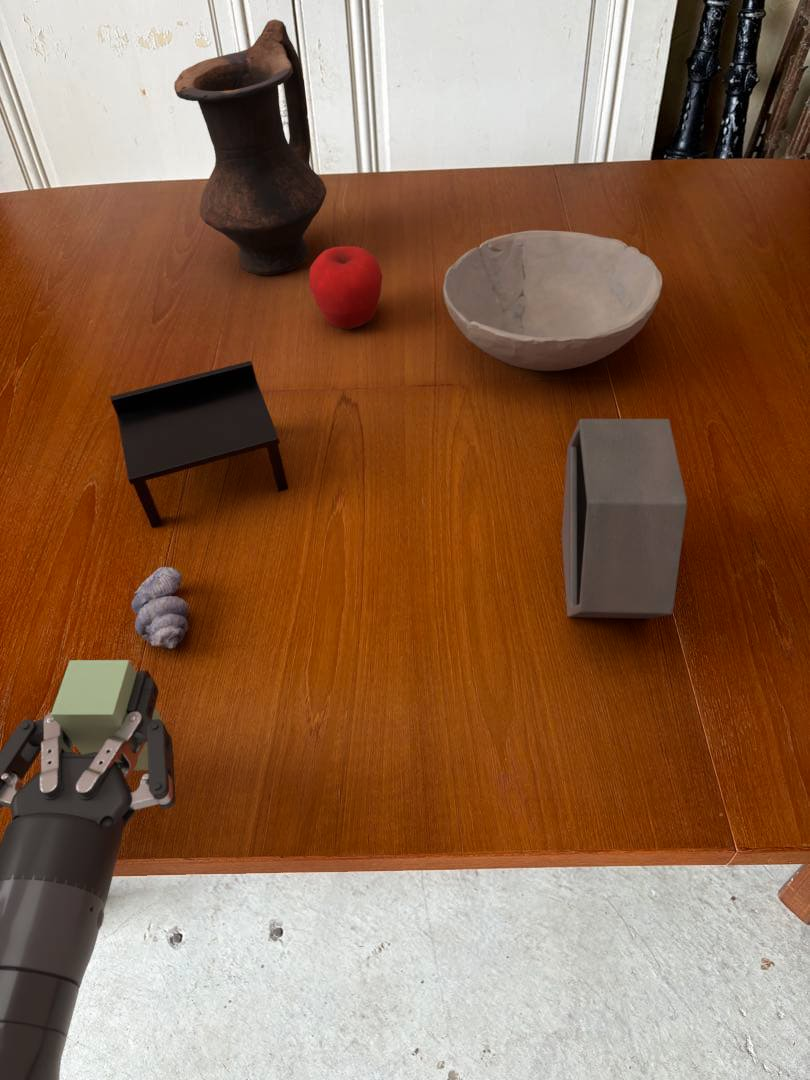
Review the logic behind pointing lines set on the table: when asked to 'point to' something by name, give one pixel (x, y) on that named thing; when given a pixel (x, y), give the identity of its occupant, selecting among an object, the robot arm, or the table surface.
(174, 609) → the seashell
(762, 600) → the table surface
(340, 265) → the apple
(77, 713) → the block
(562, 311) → the bowl
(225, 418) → the bench
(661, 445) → the grey open box
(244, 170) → the jug
